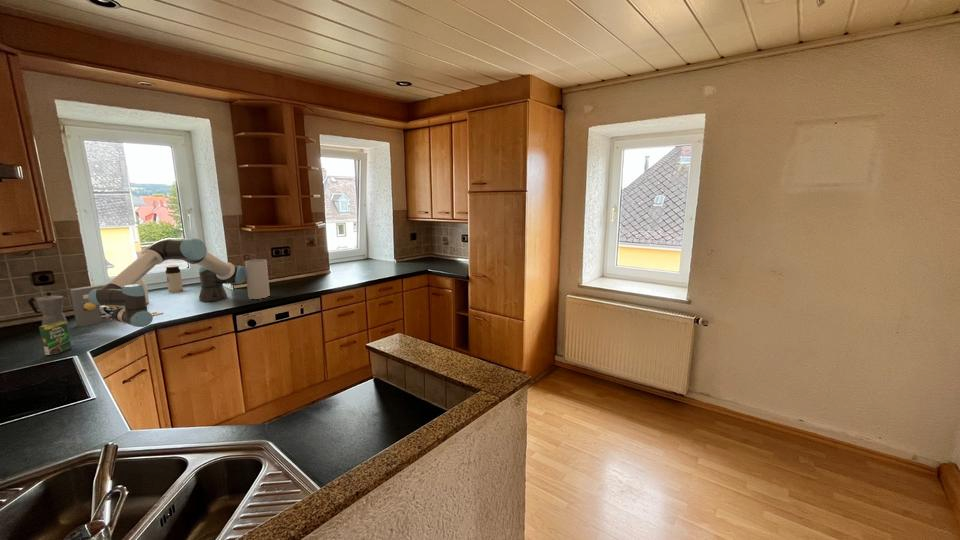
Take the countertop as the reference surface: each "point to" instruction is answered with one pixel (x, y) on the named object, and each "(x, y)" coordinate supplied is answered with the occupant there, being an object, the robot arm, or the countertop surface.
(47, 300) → the coffeepot
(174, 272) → the travel mug
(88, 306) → the button
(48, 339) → the coffee box
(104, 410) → the countertop surface
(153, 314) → the card
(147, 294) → the milk bottle
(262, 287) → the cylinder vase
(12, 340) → the countertop surface
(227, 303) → the countertop surface
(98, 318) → the button panel
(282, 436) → the countertop surface
